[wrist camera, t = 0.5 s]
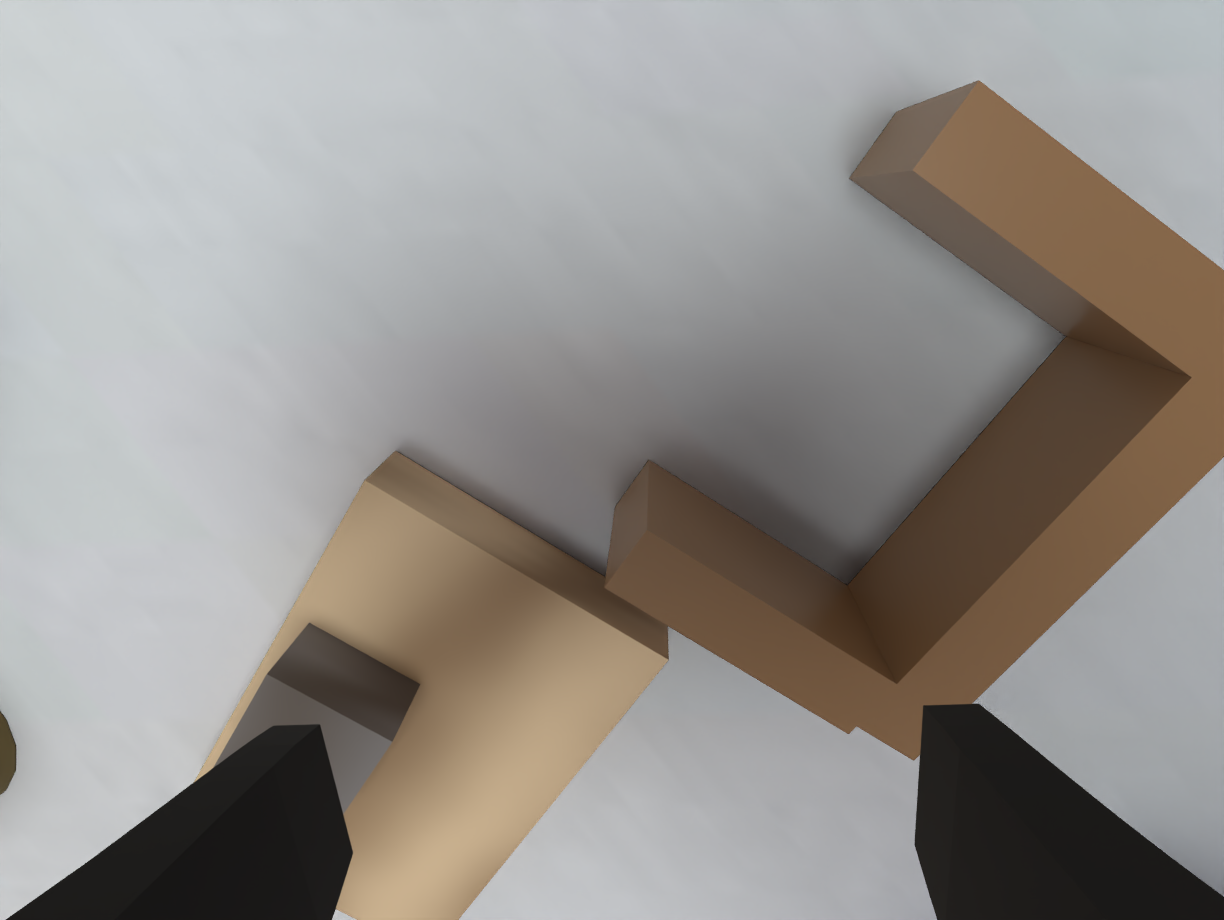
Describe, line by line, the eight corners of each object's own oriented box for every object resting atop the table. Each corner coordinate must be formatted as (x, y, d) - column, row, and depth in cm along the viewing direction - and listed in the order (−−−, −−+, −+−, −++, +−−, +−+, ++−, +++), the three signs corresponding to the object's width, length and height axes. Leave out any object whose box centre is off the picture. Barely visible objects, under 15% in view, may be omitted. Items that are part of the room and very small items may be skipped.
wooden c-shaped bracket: (615, 507, 18) (603, 587, 14) (896, 111, 15) (979, 80, 11) (856, 656, 19) (905, 768, 15) (1169, 317, 16) (1330, 352, 12)
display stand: (667, 614, 19) (670, 716, 15) (448, 892, 23) (406, 1030, 19) (395, 450, 18) (326, 517, 14) (211, 771, 22) (117, 891, 18)
